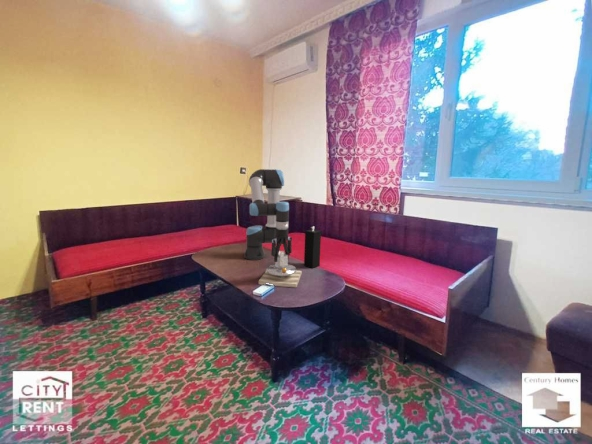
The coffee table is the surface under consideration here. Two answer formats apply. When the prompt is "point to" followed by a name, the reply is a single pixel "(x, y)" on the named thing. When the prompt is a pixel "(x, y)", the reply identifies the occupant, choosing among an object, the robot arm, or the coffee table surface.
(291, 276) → the base plate
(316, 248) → the black pillar candle
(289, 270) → the handwheel
